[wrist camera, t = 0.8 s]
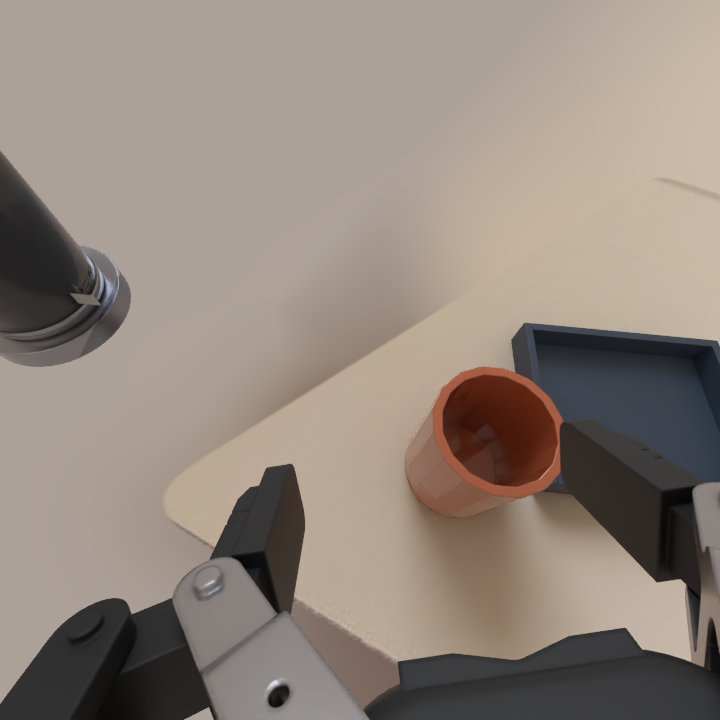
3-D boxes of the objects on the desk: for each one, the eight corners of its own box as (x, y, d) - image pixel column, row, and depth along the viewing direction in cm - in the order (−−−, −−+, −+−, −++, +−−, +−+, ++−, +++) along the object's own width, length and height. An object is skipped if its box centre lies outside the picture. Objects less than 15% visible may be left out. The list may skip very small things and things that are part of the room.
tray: (530, 490, 26) (548, 483, 24) (511, 339, 32) (524, 322, 30) (749, 510, 26) (788, 505, 24) (690, 356, 32) (717, 340, 30)
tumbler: (403, 513, 25) (433, 490, 17) (406, 418, 28) (432, 361, 20) (503, 522, 25) (579, 503, 17) (494, 426, 28) (555, 373, 20)
